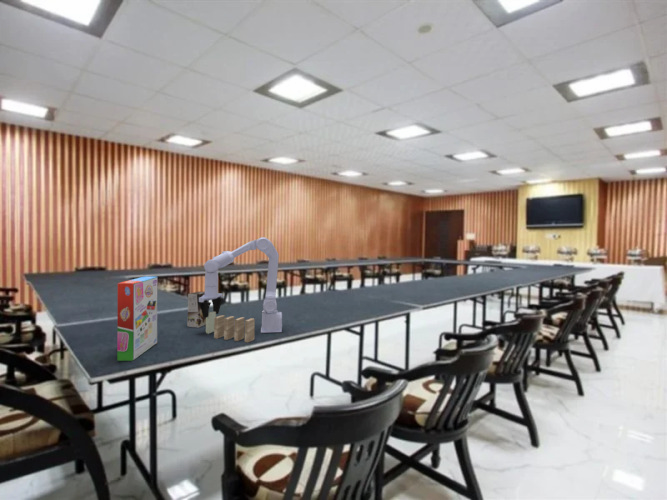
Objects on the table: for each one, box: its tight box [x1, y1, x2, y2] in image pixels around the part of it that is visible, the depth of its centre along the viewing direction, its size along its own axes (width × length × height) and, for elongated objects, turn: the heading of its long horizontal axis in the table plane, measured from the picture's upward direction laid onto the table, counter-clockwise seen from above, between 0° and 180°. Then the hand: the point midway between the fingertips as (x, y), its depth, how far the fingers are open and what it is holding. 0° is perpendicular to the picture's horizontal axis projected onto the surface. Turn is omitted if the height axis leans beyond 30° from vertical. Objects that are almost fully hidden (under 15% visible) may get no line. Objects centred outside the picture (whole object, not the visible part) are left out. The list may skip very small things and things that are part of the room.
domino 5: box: [244, 317, 256, 343], centre depth 151 cm, size 2×5×9 cm, turn 162°
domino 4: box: [233, 316, 245, 342], centre depth 152 cm, size 2×5×9 cm, turn 162°
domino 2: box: [213, 314, 226, 339], centre depth 155 cm, size 2×5×9 cm, turn 162°
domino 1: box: [205, 311, 217, 334], centre depth 163 cm, size 2×5×9 cm, turn 162°
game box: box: [116, 275, 158, 362], centre depth 133 cm, size 21×6×27 cm, turn 5°
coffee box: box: [186, 291, 210, 329], centre depth 175 cm, size 9×6×16 cm
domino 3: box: [223, 315, 235, 341], centre depth 154 cm, size 2×5×9 cm, turn 162°
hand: (210, 315), depth 163 cm, fingers open, 7 cm apart
